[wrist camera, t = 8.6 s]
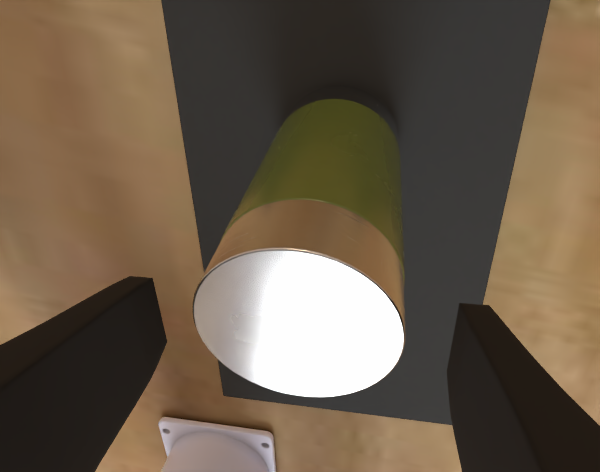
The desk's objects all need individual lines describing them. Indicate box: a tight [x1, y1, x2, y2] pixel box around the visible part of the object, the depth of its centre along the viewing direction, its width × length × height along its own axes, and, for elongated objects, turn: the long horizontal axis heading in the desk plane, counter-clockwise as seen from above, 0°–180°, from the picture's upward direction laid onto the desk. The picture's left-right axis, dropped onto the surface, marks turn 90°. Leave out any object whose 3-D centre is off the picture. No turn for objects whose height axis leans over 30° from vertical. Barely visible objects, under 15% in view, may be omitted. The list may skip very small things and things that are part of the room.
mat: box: [162, 0, 550, 425], centre depth 21 cm, size 22×14×1 cm, turn 1°
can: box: [193, 85, 405, 397], centre depth 14 cm, size 5×5×10 cm
